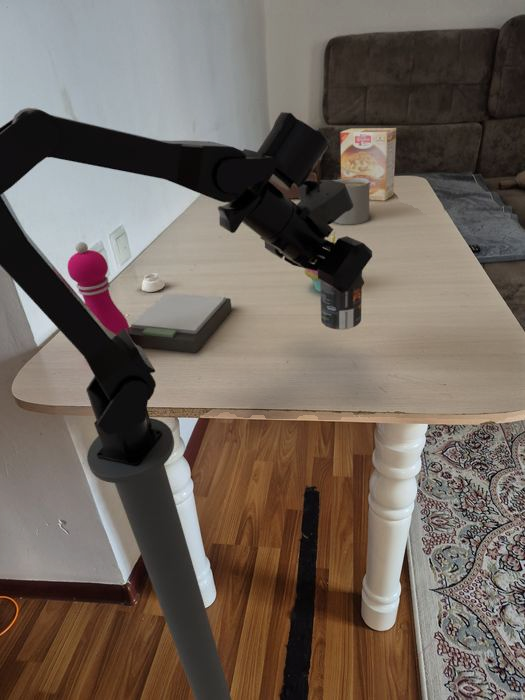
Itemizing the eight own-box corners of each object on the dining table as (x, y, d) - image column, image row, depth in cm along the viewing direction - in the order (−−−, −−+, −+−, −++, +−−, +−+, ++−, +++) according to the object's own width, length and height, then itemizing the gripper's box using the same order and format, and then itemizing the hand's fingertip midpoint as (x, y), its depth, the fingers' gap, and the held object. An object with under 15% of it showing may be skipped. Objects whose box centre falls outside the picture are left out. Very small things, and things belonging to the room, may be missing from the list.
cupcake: (354, 283, 99) (354, 225, 93) (337, 300, 93) (335, 240, 87) (317, 277, 103) (314, 222, 97) (298, 293, 98) (294, 236, 91)
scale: (195, 353, 82) (192, 336, 80) (126, 345, 86) (121, 329, 85) (232, 309, 94) (229, 294, 93) (169, 305, 99) (166, 290, 97)
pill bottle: (361, 331, 69) (362, 256, 63) (319, 331, 71) (317, 257, 65) (361, 312, 74) (362, 241, 68) (322, 312, 76) (320, 242, 70)
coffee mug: (368, 223, 130) (369, 185, 125) (331, 225, 132) (330, 187, 127) (369, 209, 141) (370, 173, 136) (335, 210, 143) (334, 175, 138)
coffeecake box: (340, 198, 154) (339, 131, 144) (350, 192, 159) (350, 127, 149) (385, 201, 146) (387, 131, 136) (394, 194, 151) (397, 127, 141)
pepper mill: (84, 360, 83) (45, 249, 73) (110, 339, 89) (77, 233, 78) (118, 366, 80) (83, 251, 70) (142, 343, 86) (113, 235, 75)
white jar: (164, 291, 105) (164, 282, 109) (162, 278, 104) (162, 270, 108) (141, 294, 105) (142, 285, 109) (138, 282, 103) (139, 273, 107)
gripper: (360, 174, 52) (429, 248, 61) (276, 154, 66) (343, 217, 76) (301, 261, 53) (377, 321, 63) (231, 223, 68) (302, 276, 77)
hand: (348, 278), depth 69 cm, fingers closed on pill bottle, 6 cm apart
